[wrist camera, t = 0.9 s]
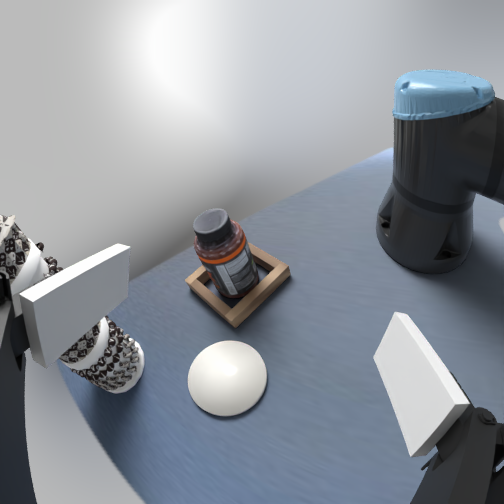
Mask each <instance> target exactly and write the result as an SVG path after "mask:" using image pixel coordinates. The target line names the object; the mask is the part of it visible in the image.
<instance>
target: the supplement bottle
mask: <svg viewBox="0 0 504 504" xmlns="http://www.w3.org/2000/svg"><path fill="white" fill-rule="evenodd" d="M193 228H194V231H195V233H196V237H195V240H194V248H195V251H196V253H197V255H198V256H199V259H200V260H201V262H202V264H203V266H204V267H205V269H206V271H207V273H208V274H209V276H210V278H211V280H212V281H213V283H214V285H215V287H216V289H217V290H218V291H219V292H220V293H221V294H222V295H223V296H225V297H227V298H239V297H243V296H245V295H247V294H248V293H249V292H250V291H252V290H253V289H254V288H255V287H256V285H257V282H258V271H257V267H256V265H255V262H254V259H253V256H252V253H251V251H250V248H249V245H248V242H247V240H246V237H245V234H244V232H243V230H242V228H241V226H240V225H239V224H238V223H237V222H235V221H233V220H230V218H229V216H228V214H227V212H226V211H225V210H223V209H210V210H207V211H205V212H203V213H201V214H200V215H199V216H198V217H197V218H196V219H195V221H194V223H193Z"/></svg>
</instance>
